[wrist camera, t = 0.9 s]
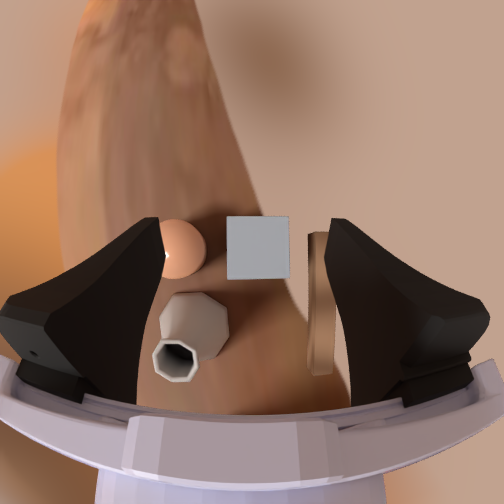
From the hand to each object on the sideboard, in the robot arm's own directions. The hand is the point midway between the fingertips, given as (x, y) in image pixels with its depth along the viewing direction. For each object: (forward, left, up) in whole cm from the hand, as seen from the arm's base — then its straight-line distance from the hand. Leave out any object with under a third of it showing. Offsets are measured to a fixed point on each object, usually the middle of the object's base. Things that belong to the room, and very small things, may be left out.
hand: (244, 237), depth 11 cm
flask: (-7, +4, -16) cm, 18 cm away
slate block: (0, -2, -15) cm, 15 cm away
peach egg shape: (0, +5, -15) cm, 16 cm away
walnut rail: (-5, -8, -15) cm, 18 cm away
